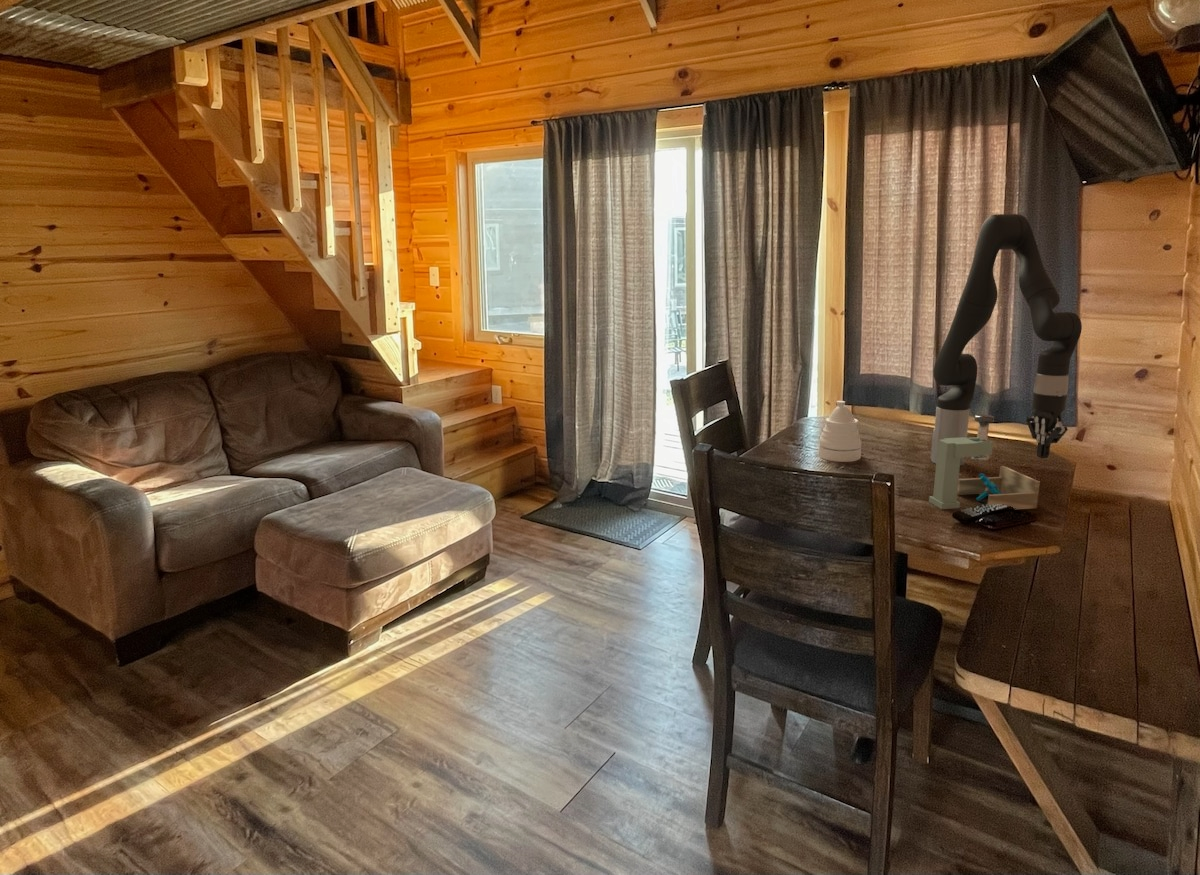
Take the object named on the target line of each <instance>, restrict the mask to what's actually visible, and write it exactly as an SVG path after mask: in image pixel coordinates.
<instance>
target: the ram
mask: <svg viewBox="0 0 1200 875" xmlns="http://www.w3.org/2000/svg"><path fill="white" fill-rule="evenodd" d="M974 421H975V422H977V423H978V425H977V434H976V437H977V442H979V441H988V435H989V429H990V428H989V427H990V424H991V423H994V421H995V416H994V415H992V414H991V415H990V414H984V413H982V414H981V413H980V414H975V415H974ZM989 458H990V455H983V456H977V457H970V459H971V460H974V461H978V462H988V461H989Z"/></svg>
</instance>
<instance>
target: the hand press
mask: <svg viewBox="0 0 1200 875" xmlns="http://www.w3.org/2000/svg"><path fill="white" fill-rule="evenodd" d="M993 446H994V441H992V440H987V441H979V442H977V436H976V437H975V436H973V437H967V438H965V437H960V438H944V439H942V440H939V441H938V451H937V461H936V463H935V475H934V482H933V483H934V485H933V493H932V494H933V495H930V496H928V503H930V504H932V505H933V504H934V505H933V506H935V507H936V508H939V509H940V510H949V509H960V508H961V502H960V501H958V500H957V498H958V496H957V495H958V494H957V488H958V479H960V478H959V477H960V459H961V457H965V458H971V457H977V456H983V455H989V456H992V455H993Z"/></svg>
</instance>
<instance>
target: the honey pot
mask: <svg viewBox="0 0 1200 875" xmlns="http://www.w3.org/2000/svg"><path fill="white" fill-rule="evenodd" d="M845 404H846V401H844V400H836V405H837V406H836V407H835V408H834V409H833V411H832V412H831V413H830V416H829V417H826V418H825V419H824V420H825V426H824V427H823V428H822V432H821V434H820V437H819V440H818V441H819V442H818V451H817V456H818V458H820V459H823V460H826V461H831V462H839V463H840V462H843V463H848V462H855V461H859V460H860V459H861V456H862V439H861V438H860V437H861V436H860V430H859V429H858V426H857V425H858V424H859V423H860V422H859V420H858V419H857V418H855V417H854V415H853V413H852V411H851V409H850V408H849V407H848V406H847V405H845Z"/></svg>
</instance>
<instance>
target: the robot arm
mask: <svg viewBox="0 0 1200 875" xmlns="http://www.w3.org/2000/svg"><path fill="white" fill-rule="evenodd" d="M1000 250H1001V251H1002V250H1003V251H1004V250H1011V251H1013V252H1014V254H1015V255H1016V257H1017V258H1018V260H1019V263H1020V271H1019V275H1018V285H1019V288H1020V292H1021V294H1022V296H1023V297H1024V299H1025V302H1026V303H1027V305H1028V307H1029V311H1030V317H1031V322H1032V323H1031V324H1032V328H1033V332H1034V334H1035V335H1036V336H1037V337H1038V338H1039V339H1041V340H1042V341H1044V342H1053V343H1052V345H1051V347H1050V348H1048V349H1045V350H1043V351H1041V352H1040V353H1039V354H1038V355H1039V356H1038V360H1037V367H1036V375H1035V376H1036V377H1035V379H1034V385H1033V394H1032V402H1031V403H1032V404H1031V408H1032V409H1033V410H1034V412H1033V416H1031V417H1027V418H1026V420H1025V421H1026V423H1027V427H1028V429H1029V431H1030V435H1031V439H1034V440H1036V442H1037V447H1036V457H1038V458H1039V459H1047V458H1049V455H1050V451H1051V445H1052V444H1057V443H1058V442H1059V441H1060V440H1061V439H1062V438H1063V436H1064V435H1065V434H1066V433H1067V432H1068V429H1069V428H1068V427H1067V426H1064V425H1063V423H1062V421H1063V420H1062V412H1063V413H1064V412H1065V411H1066V408H1067V406H1066V405H1067V397H1068V390H1069V389H1068V388H1069V373H1070V363H1071V358H1072V355H1074V352H1075V349H1076V346H1077V344H1078V342H1079V339H1080V337H1081V333H1082V328H1083V326H1082V325H1083V324H1082V321H1081V318H1080V317H1079V315H1078V314H1077V313H1075V312H1071V311H1062V312H1054V309H1055V308H1056V307H1057V306H1058V305H1059V304H1060V301H1061V298H1060V295H1059V293H1058V291H1057V289H1056V287H1055V286H1054V284H1053V281H1052V280H1051V278H1050V276H1049V275H1048V273H1047V270H1046V269H1045V265H1044V262H1043V261H1042V257H1041V254H1040V250H1039V247H1038V244H1037V241H1036V238H1035V235H1034V232H1033V229H1032V227H1031V224H1030V222H1029V220H1028V219H1027V217H1026V216H1024V215H1022V214H1018V213H1017V214H1016V213H1006V214H1005V213H1003V214H1001V213H1000V214H999V213H997V214H991V215H989V216H988V217H987V218H986V219H985V220H984V221H983V223H982V225H981V228H980V230H979V233H978V237H977V242H976V245H975V250H974V253H973V258H972V263H971V265H970V266H971V267H970V269H969V271H968V276H967V279H966V282H965V284H964V288H963V290H962V292H961V294H960V295H961V296H960V298H959V301H958V304H957V307H956V311H955V315H954V317H953V320H952V322H951V325H950V327H949V331H948V333H947V335H946V337H945V340H944V342H943V344H942V346H941V349H940V350H939V352H938V355H937V357H936V360H935V362H934V364H933V365H934V366H933V380H934V381H935V383H937V384H938V385H940V386H946V387H949V386H951V388H950V389H949V390H948V391H947V392H945V393H944V394H941V395H939V396H938V397H937V400H936V407H935V408H936V409H935V418H934V428H933V430H932V435H931V436H932V438H931V449H930V462H932V463H933V464H936V461H937V451H938V441H939V440H942V439H944V438H960V437H965V438H968V430H969V419H970V410H971V403H972V401H973V399H974V396H975V391H976V390H975V389H976V383H977V380H978V379H977V377H978V364H977V360H976V359H975V357H974V356H973V354H970V353H963V351H964V349H965V348H966V346H967V345H968V343H969V342H970V341H971V340H972V339H973V338H974V337H976V335H977V334H978V333H979V332H980V331H981V330H982V329H983V328H984V327H985V326H986V325H987V324H988V322H989V321H990V319H991V317H992V315H993V313H994V309H995V307H996V304H997V300H998V288H997V283H996V279H995V275H994V266H995V263H996V258H997V256H998V253H999V251H1000ZM965 458H966V457H961V459H960V466H963V465H965Z"/></svg>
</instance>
